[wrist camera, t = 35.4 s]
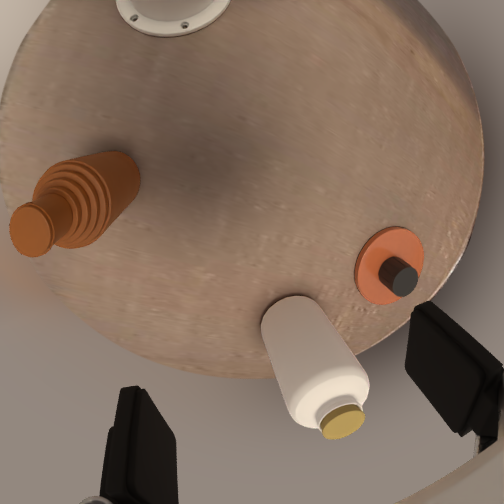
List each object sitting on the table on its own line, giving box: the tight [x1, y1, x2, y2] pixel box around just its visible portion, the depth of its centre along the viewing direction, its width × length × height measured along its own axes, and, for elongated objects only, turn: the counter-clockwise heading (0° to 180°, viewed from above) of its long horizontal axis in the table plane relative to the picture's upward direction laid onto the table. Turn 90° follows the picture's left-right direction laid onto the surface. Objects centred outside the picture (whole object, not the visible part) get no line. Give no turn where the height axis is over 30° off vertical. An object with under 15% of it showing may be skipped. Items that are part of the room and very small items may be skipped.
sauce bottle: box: [9, 151, 140, 257], centre depth 22 cm, size 6×6×18 cm
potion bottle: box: [261, 296, 370, 439], centre depth 32 cm, size 8×8×18 cm
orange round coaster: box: [355, 227, 424, 305], centre depth 40 cm, size 11×11×1 cm
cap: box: [378, 257, 418, 297], centre depth 38 cm, size 4×4×4 cm
